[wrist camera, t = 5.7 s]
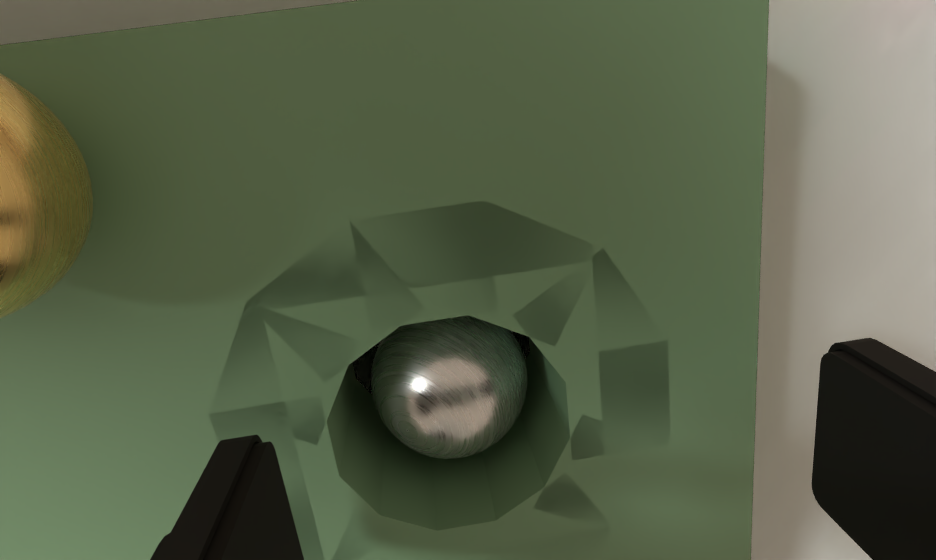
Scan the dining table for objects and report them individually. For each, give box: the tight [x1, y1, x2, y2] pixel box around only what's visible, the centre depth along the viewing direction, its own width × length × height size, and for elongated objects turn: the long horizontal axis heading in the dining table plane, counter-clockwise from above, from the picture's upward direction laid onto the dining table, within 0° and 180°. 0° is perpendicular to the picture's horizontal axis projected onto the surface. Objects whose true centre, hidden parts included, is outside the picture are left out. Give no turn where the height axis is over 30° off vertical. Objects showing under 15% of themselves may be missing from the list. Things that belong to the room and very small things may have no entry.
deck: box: [0, 0, 769, 560], centre depth 13 cm, size 15×20×4 cm
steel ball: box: [371, 315, 527, 459], centre depth 13 cm, size 4×4×4 cm
